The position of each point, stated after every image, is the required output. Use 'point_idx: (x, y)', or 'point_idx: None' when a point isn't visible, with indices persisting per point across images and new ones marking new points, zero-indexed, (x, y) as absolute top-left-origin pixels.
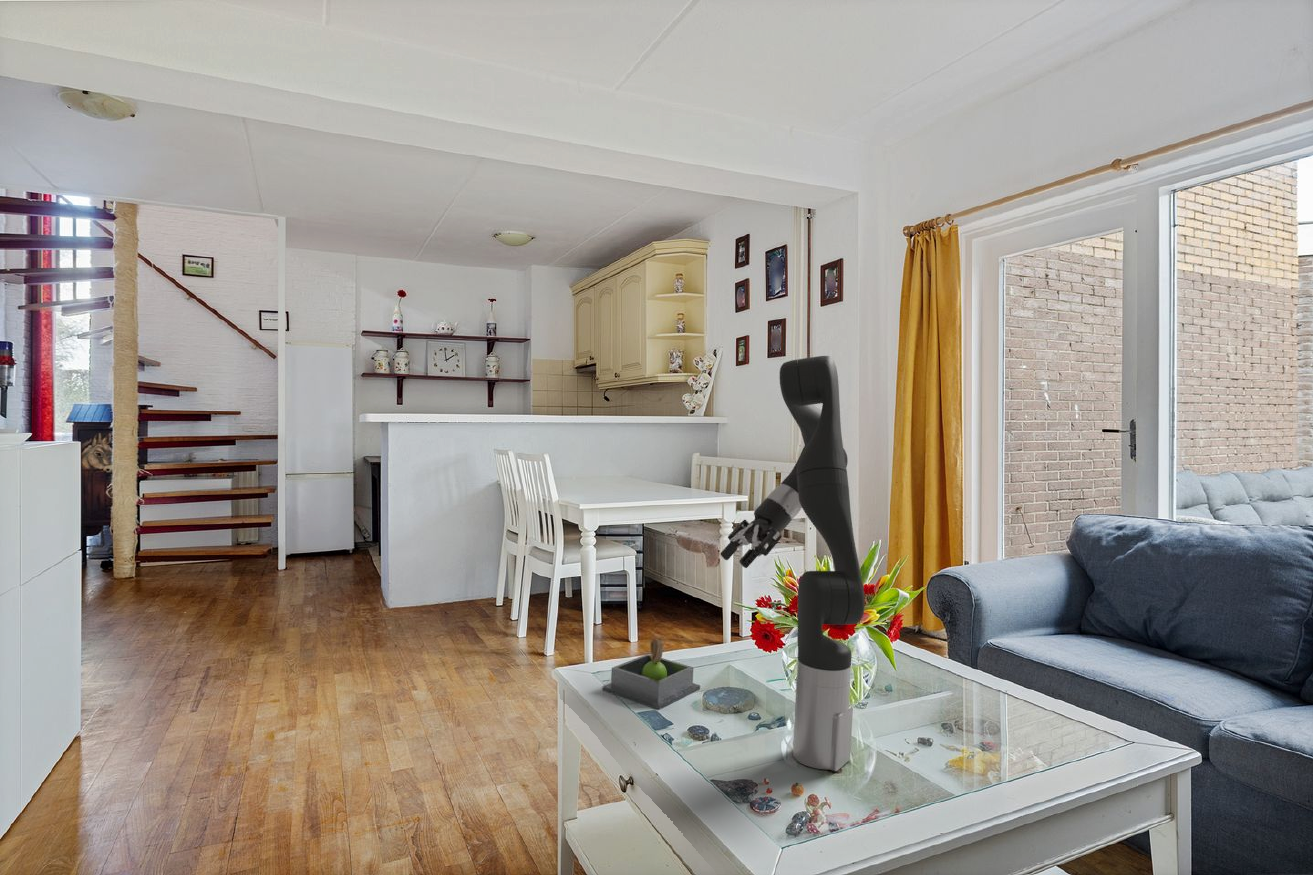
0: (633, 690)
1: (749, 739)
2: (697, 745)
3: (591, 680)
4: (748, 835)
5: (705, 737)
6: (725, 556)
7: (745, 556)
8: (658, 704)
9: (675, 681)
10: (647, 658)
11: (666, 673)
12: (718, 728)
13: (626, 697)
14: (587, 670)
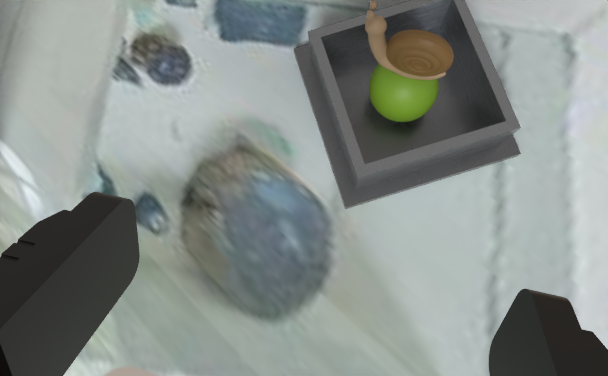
0: None
1: (78, 125)
2: (121, 24)
3: (520, 11)
4: None
5: (137, 57)
6: (507, 337)
7: (48, 237)
8: (299, 50)
9: (330, 104)
10: (502, 121)
11: (378, 105)
12: (151, 104)
13: None
14: (590, 34)
